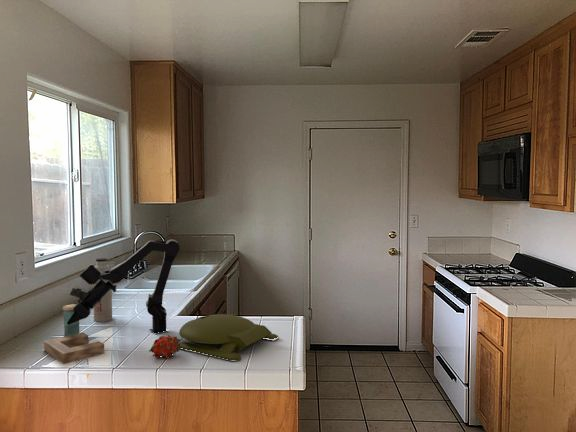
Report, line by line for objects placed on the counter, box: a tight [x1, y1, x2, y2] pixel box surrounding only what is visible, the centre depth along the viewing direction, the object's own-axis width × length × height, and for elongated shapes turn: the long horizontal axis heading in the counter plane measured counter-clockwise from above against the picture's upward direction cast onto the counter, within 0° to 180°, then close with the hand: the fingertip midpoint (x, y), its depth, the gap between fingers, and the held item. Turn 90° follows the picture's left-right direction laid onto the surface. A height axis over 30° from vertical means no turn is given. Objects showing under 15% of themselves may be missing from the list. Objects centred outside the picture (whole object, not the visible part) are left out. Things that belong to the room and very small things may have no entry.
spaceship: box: [179, 313, 279, 361], centre depth 195 cm, size 35×31×10 cm
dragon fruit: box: [149, 334, 181, 359], centre depth 179 cm, size 8×8×12 cm
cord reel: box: [62, 303, 81, 337], centre depth 198 cm, size 6×6×13 cm
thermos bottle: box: [92, 257, 113, 323], centre depth 225 cm, size 8×8×28 cm
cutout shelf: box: [43, 332, 105, 364], centre depth 183 cm, size 15×19×4 cm
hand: (69, 320), depth 198 cm, fingers open, 9 cm apart
